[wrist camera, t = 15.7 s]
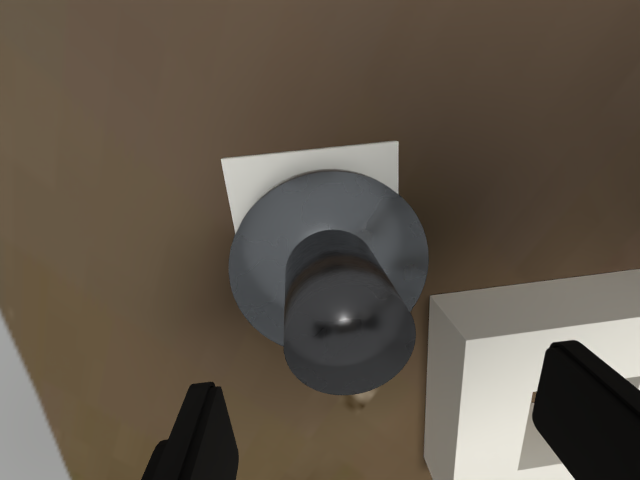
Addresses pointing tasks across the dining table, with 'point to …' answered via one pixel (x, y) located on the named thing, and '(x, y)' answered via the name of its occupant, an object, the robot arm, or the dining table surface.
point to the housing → (515, 368)
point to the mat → (303, 170)
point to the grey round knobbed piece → (332, 277)
